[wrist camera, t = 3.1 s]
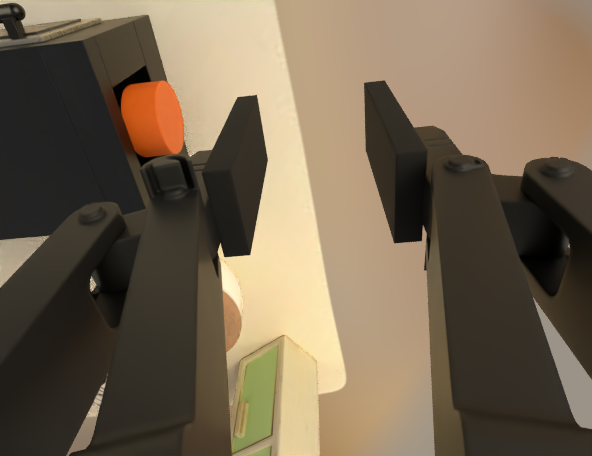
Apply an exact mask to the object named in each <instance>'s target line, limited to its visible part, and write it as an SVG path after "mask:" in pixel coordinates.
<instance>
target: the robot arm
mask: <svg viewBox="0 0 592 456" xmlns="http://www.w3.org/2000/svg"><path fill="white" fill-rule="evenodd" d="M364 90H365V91H364V92H365V135H366V152H367V155H368V158H369V162H370V165H371V169H372V172H373V175H374V178H375V182H376V185H377V188H378V191H379V195H380V198H381V201H382V204H383V208H384V211H385V214H386V218H387V221H388V224H389V227H390V231H391V234H392V237H393V241H394V243H403V242H416V241H422V228H423V226H424V228H425V230H426V232H427V239H426V252H425V253H426V254H425V266H424V270H427V287H428V308H429V331H430V354H431V377H432V399H433V422H434V441H435V442H434V444H435V456H592V429H587V428H582V427H580V426H579V425H578V424H577V423H576V421H575V419H574V417H573V415H572V412H571V410H570V407H569V404H568V401H567V398H566V395H565V392H564V389H563V386H562V383H561V380H560V377H559V374H558V371H557V368H556V365H555V362H554V359H553V356H552V353H551V350H550V347H549V344H548V341H547V338H546V336H545V332H544V330H543V326H542V324H541V321H540V318H539V315H538V312H537V309H536V306H535V303H534V300H533V297H534V299H535V300H536V302H537V303H538V305H539V306H540V307H541V309H542V310H543V312H544V313H545V314H546V316H547V317H548V319H549V320H550V321H551V323H552V324H553V326H554V327H555V328H556V330H557V331H558V333H559V334H560V336H561V337H562V338H563V340H564V341H565V343H566V344H567V345H568V347H569V348H570V350H571V351H572V352H573V354H574V355H575V357H576V358H577V359H578V361H579V362H580V364H581V365H582V366H583V368H584V369H585V370H586V372H587V374H588V375H589V376H590V378H591V379H592V171H591V170H590V169H588V168H587V167H586V166H584V165H582V164H580V163H578V162H574V161H571V160H568V159H566V158H560V159H559V158H558V157H550V158H541V159H536V160H532V161H530V162H529V163H527V164H526V166H525V168H524V174H523V177H522V176H505V175H504V176H503V175H494V174H491V172H490V169H489V166H488V165H487V163H486V162H485V161H484V160H481V159H479V158H477V157H473V156H469V155H462V153H461V152H460V151H459V150H458V148H457V147H456V146H455V144H453V142H452V141H451V139H449V137H448V135H447V134H446V133H445V132H444V131H443V130H441V129H439V128H437V127H434V126H427V127H417V128H414V127H413V126H412V124H411V123H410V121H409V119H408V118H407V116H406V114H405V113H404V111H403V110H402V108H401V106H400V105H399V103H398V102H397V100H396V98H395V97H394V95H393V93H392V92H391V90H390V89H389V87H388V85H387V84H386V82H385V81H376V82H368V83H364ZM267 161H268V158H267V153H266V147H265V141H264V135H263V129H262V123H261V117H260V111H259V105H258V99H257V95H254V96H245V97H237V100H236V102H235V104H234V106H233V108H232V110H231V112H230V114H229V116H228V118H227V121H226V123H225V125H224V127H223V129H222V131H221V133H220V135H219V137H218V139H217V141H216V144H215V146H214V148H213V150H207V151H198V152H197V153H196V154H194V155H193V156H191V157H189V156H187V155H182V154H173V155H166V156H162V157H158V158H156V159H153V160H151V161H149V162H147V163H146V164H144V165H143V166H142V167H141V168H140V173H141V176H142V179H143V181H144V184H145V187H146V190H147V192H148V195H149V198H150V199H149V203H148V207H147V209H144V210H141V211H137V212H133V213H129V214H125V215H122V213H121V211H120V209H119V206H118V204H116V203H114V202H99V203H97V202H94V203H90V205H89V204H87V205H85V206H83V207H82V208H81V209H79V210H77V211H75V212H74V213H72V214H71V215H70V216H69V217H68V218H67V219H66V220H65V221H64V222H63V223H62V224H61V225H60V226H59V227H58V228H57V229H56V230H55V231H54V232H53V233H52V234H51V235H50V236H49V238H48V239H47V240H46V241H45V242H44V243H43V244H42V245H41V246H40V247H39V248H38V249H37V250H36V251H35V252H34V253H33V254H32V255H31V256H30V257H29V258H28V260H27V261H26V262H25V263H24V264H23V265H22V266H21V267H20V268H19V269H18V270H17V271H16V272H15V273H14V274H13V275H12V276H11V277H10V278H9V279H8V281H7V282H6V283H5V284H4V285H3V286H2V287H1V288H0V456H66V455H67V453H68V451H69V449H70V447H71V445H72V443H73V441H74V439H75V437H76V435H77V433H78V431H79V429H80V427H81V425H82V423H83V421H84V419H85V418H86V416H87V414H88V412H89V410H90V408H91V406H92V404H93V402H94V400H95V398H96V396H97V394H98V392H99V390H100V388H101V386H102V384H103V382H104V380H105V378H106V376H107V379H106V384H105V388H104V392H103V396H102V400H101V405H100V409H99V413H98V417H97V421H96V426H95V430H94V434H93V437H92V440H91V443H90V445H89V446H88V447H87V448H86V449H85V450H81V451H77V452H73V453H71V454H70V455H69V456H232V448H231V430H230V414H229V413H230V412H229V395H228V377H227V360H226V342H225V324H224V307H223V289H222V272H221V263H220V259H219V256H218V248H219V245H220V242H221V246H222V250H223V253H224V257H232V256H244V255H250V253H251V248H252V242H253V237H254V231H255V226H256V221H257V215H258V210H259V204H260V199H261V194H262V188H263V183H264V177H265V172H266V167H267ZM569 244H570V248H569V247H568V245H569ZM91 276H92V277H93V279H94V281H95V283H96V285H97V286H96V287H95V288H94V290H93V291H92V292H91V291H90V278H91ZM532 296H533V297H532ZM107 374H108V375H107Z"/></svg>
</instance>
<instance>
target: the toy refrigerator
mask: <svg viewBox="0 0 592 456" xmlns="http://www.w3.org/2000/svg"><path fill="white" fill-rule="evenodd" d="M230 430H231V448H232V456H320V441H319V440H320V439H319V403H318V371H317V361H316V360H315V359H314V358H313V357H312V356H310V355H309V354H308V353H307V352H305V351H304V350H303V349H302V348H301V347H299V346H298V345H297V344H296V343H295V342H293V341H292V340H291V339H290V338H288V337H287V336H286V335H284V336H282V337H280V338H278V339H276V340H275V341H273V342H271V343H270V344H268V345H266V346H264V347H263V348H261V349H259V350H258V351H256V352H254V353H252V354H251V355H249V356H247V357H245V358H244V359H242V360H241V362H240V366H239V372H238V378H237V385H236V391H235V397H234V404H233V411H232V416H231V422H230Z"/></svg>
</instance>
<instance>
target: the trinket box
mask: <svg viewBox="0 0 592 456" xmlns="http://www.w3.org/2000/svg"><path fill="white" fill-rule="evenodd" d="M219 259H220V258H219ZM220 263H221V272H222V289H223V307H224V324H225V342H226V352H227V351H229V350H230V349H231V348H232V347H233V346H234V345H235V343H236V342H237V340H238V338H239V335H240V331H241V318H242V311H243V297H242V290H241V286H240V283H239V281H238V278H237V276H236V274H235V273H234V271H233V270H232V269H231V268H230V267H229V266H228V264H226V263H225V262H224V261H223V260H221V259H220Z"/></svg>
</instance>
